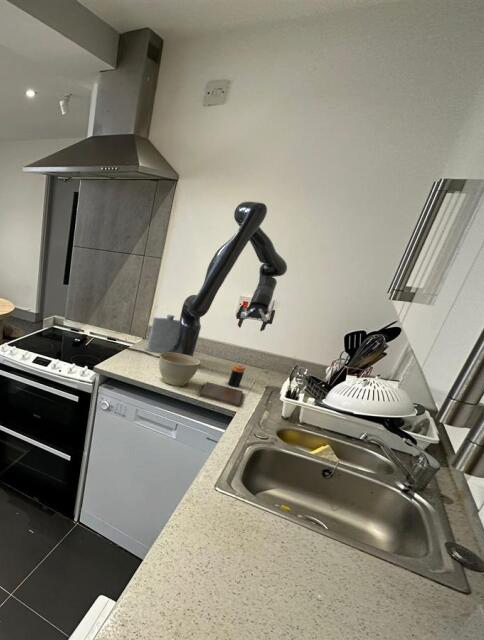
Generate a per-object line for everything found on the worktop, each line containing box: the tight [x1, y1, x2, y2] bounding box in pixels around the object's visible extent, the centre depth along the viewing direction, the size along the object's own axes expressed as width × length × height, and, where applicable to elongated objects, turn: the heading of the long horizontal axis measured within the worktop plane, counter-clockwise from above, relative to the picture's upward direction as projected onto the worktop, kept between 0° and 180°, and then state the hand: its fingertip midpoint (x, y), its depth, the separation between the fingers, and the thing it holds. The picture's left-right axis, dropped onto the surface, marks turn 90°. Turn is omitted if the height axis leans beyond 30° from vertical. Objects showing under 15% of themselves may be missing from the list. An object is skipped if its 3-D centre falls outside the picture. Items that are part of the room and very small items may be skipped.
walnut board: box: [199, 381, 243, 407], centre depth 160 cm, size 14×16×1 cm
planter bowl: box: [158, 352, 201, 387], centre depth 167 cm, size 16×16×11 cm
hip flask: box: [146, 314, 180, 354], centre depth 204 cm, size 16×4×20 cm, turn 79°
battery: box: [227, 364, 246, 388], centre depth 170 cm, size 4×4×9 cm
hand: (250, 328), depth 173 cm, fingers open, 8 cm apart
